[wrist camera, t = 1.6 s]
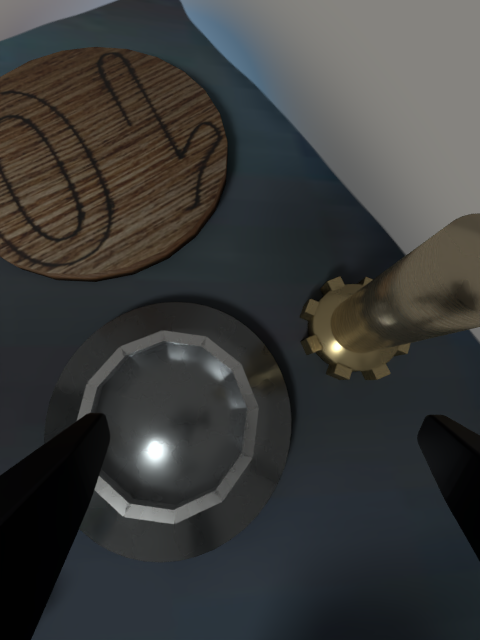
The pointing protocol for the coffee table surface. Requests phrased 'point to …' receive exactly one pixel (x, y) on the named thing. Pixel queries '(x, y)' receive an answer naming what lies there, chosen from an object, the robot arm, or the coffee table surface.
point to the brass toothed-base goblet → (398, 304)
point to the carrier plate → (177, 428)
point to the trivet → (104, 163)
